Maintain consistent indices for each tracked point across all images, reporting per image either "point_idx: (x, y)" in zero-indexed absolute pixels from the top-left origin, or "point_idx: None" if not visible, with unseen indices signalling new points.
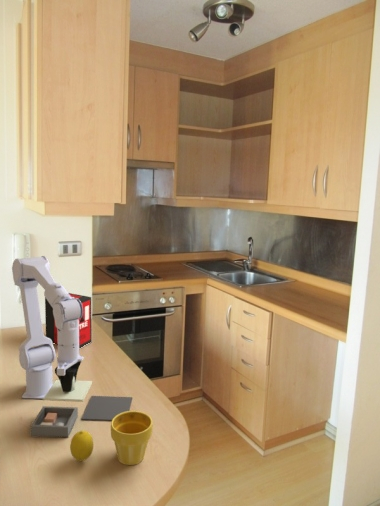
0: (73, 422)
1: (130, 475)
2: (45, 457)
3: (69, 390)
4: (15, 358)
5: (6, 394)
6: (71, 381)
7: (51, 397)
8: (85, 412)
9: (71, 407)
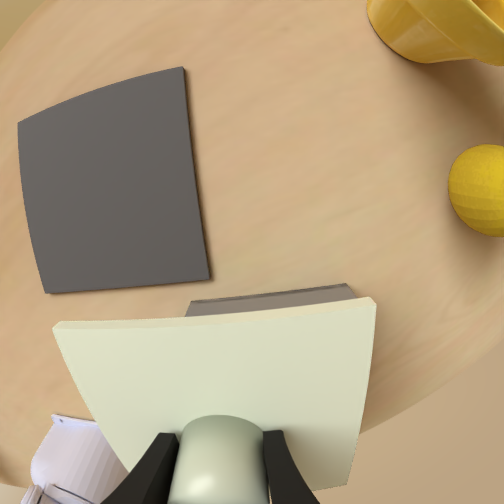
0: (262, 300)
1: None
2: (441, 306)
3: (285, 441)
4: None
5: None
6: (316, 501)
7: (340, 468)
8: (157, 278)
9: None
